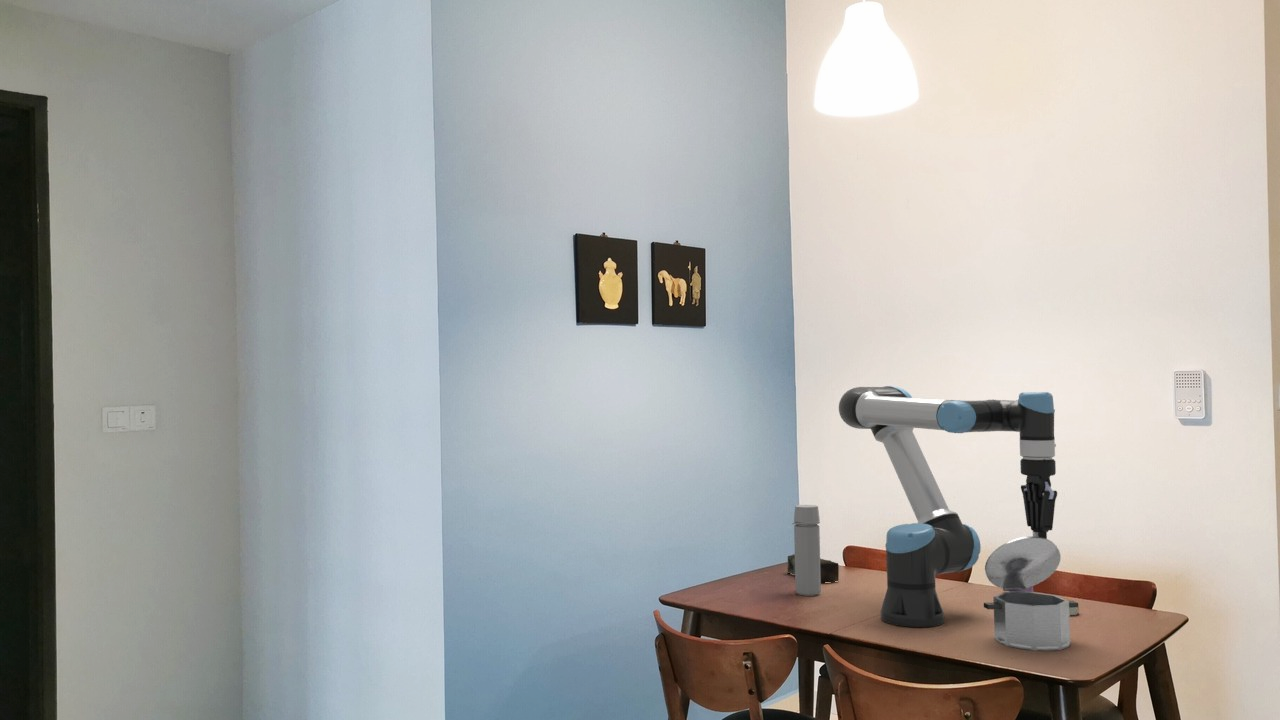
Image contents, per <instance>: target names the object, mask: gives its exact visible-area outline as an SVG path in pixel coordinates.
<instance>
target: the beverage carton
mask: <svg viewBox="0 0 1280 720" xmlns="http://www.w3.org/2000/svg"><path fill="white" fill-rule="evenodd" d="M839 570H840V569H839V563H838V562H835V561H832V560H831V559H829V560H828V559H824V558H820V575H821V583H825V582H835V581H838V582H839V576H840V575H839V573H840V571H839ZM788 572H789V573H792V574H795V553H793V554H791V555H787V573H788Z"/></svg>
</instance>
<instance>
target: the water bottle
mask: <svg viewBox="0 0 1280 720" xmlns="http://www.w3.org/2000/svg"><path fill="white" fill-rule="evenodd" d="M820 523H821V520H820V513H819V505H816V504H797V505H794V517H793V522H792V523H791V525H794V526H793V529H794V530H793V532H794V535H793V536H794V554H795V576H794V579H795V581H794V583H795V584H794V585H795V586H794V589H795V590H794V591H795V593H796V594H797V595H800V596H802V595H803V597H814V596H815V595H816V596H818V595H820V594H821V592H822V589H821V588H822V586H821V585H822V584H821V575H820V559H821V546H820V545H821V544H820V543H821V536H820V535H821V534H820V525H819V524H820Z"/></svg>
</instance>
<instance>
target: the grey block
mask: <svg viewBox="0 0 1280 720" xmlns="http://www.w3.org/2000/svg"><path fill="white" fill-rule="evenodd" d="M1062 598H1063V597H1062ZM1063 599H1065V600H1068V601H1072V600H1070V599H1069V598H1065V597H1064V598H1063ZM1079 610H1080V608H1079V606H1078V607H1074V608H1069V617H1071V616H1070V615H1075V616H1077V615H1078V613H1079Z"/></svg>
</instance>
